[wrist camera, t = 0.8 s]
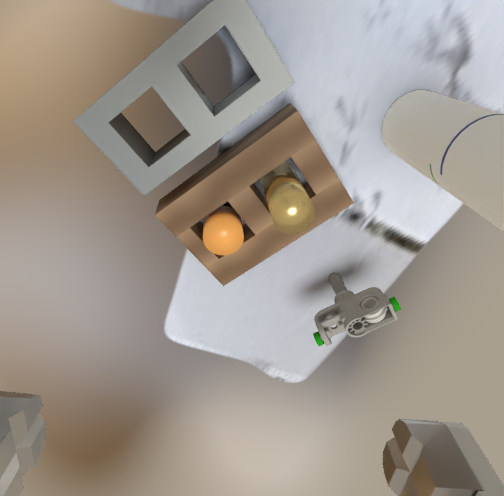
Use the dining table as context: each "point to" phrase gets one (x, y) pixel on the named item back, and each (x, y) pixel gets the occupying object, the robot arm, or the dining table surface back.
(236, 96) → the rack
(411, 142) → the cylindrical container
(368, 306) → the mechanical component
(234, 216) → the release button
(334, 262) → the dining table surface
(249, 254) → the socket base
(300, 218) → the gold metal peg
